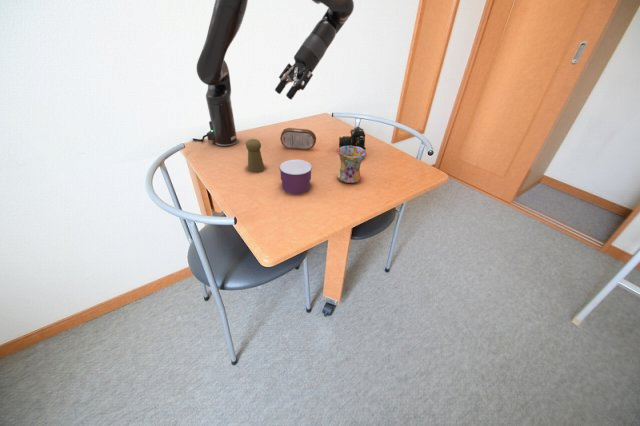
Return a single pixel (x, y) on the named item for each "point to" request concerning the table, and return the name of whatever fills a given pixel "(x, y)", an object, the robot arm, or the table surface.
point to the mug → (350, 163)
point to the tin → (298, 138)
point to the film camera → (353, 139)
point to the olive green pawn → (254, 156)
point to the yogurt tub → (295, 176)
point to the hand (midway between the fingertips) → (282, 95)
